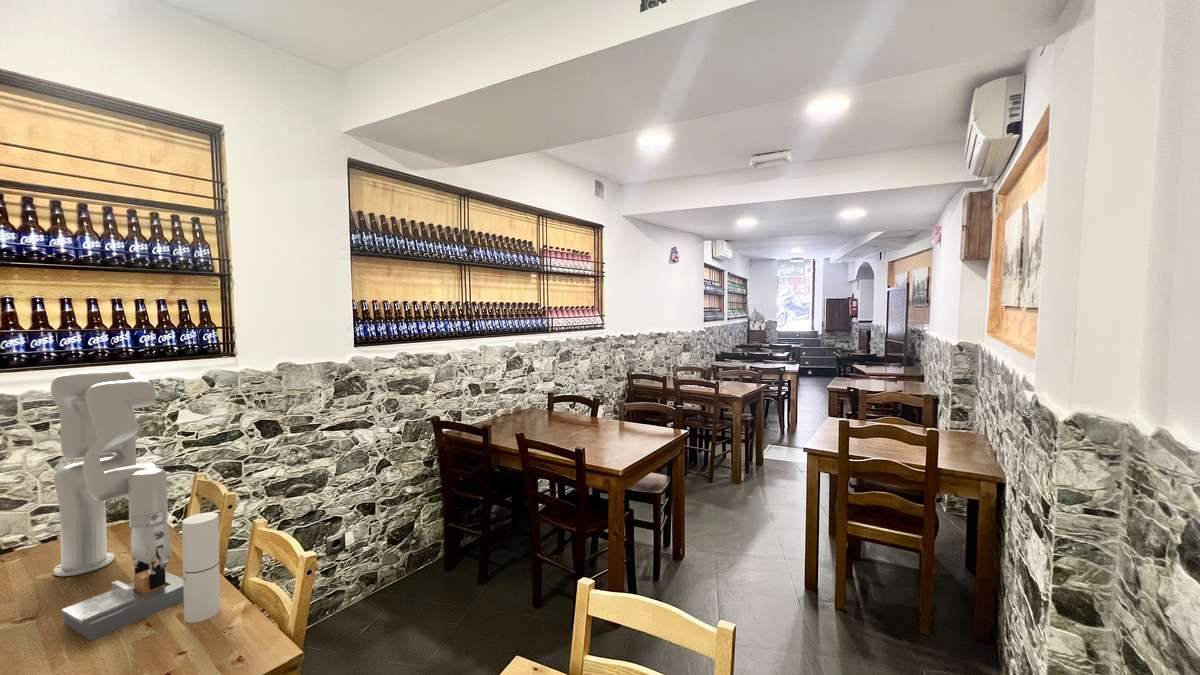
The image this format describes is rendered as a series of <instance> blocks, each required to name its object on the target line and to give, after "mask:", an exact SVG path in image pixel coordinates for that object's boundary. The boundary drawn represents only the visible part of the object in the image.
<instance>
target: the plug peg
mask: <svg viewBox="0 0 1200 675" xmlns="http://www.w3.org/2000/svg"><path fill="white" fill-rule="evenodd" d="M150 574H151V572H150V569H148V570H145V571H142V572H140V573H137V574H135V573H134V574H133V582H134V593H136V594H138V595H140V596H143V595H146V594H148V593H151V592H153V591H156V590H158V589H160V588H163V587H165V584H164V585H162V586H160V587H157V588H155V589H152V590H151V589H149V575H150Z"/></svg>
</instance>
